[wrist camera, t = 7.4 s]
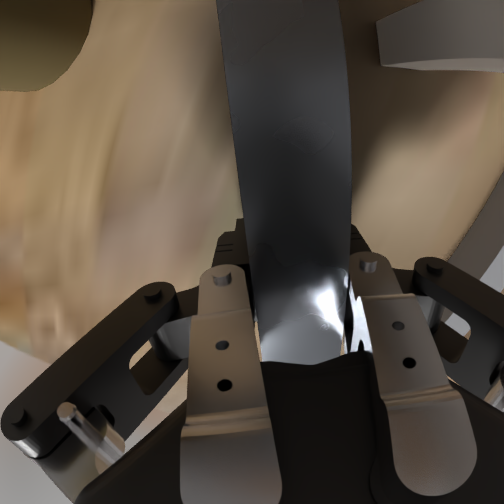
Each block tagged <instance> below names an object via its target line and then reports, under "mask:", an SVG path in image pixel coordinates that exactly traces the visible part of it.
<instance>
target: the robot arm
mask: <svg viewBox="0 0 504 504" xmlns="http://www.w3.org/2000/svg"><path fill="white" fill-rule="evenodd" d="M445 307H446V308H447V309H449V310H450V311H452V312H453V313H455V314H456V315H458V316H459V317H461V318H462V319H464V320H465V321H466V322H467V323H468V324H469V326H470V329H471V335H470V338H469V340H468V339H466V338H465V337H464V336H462V335H461V334H459V333H458V332H457V331H455V330H454V329H452V328H451V327H450V326H448V325H447V324H445V323H444V322H442V321H441V319H442V315H443V312H444V309H445ZM256 321H257V316H256V308H255V300H254V293H253V285H252V278H251V270H250V263H249V255H248V247H247V240H246V232H245V224H244V218H241V219H237V221H236V228H235V231H230V232H224V233H223V234H222V235H221V236H220V237H219V238H218V241H217V247H216V250H215V254H214V258H213V263H212V267H211V268H210V269H208V270H206V271H205V272H204V273H203V274H202V275H201V277H200V281H199V286H197V287H194V288H192V289H189V290H185V291H181V292H178V293H176V291H175V288H174V286H173V285H172V284H170V283H167V282H154V283H150V284H148V285H145V286H143V287H142V288H140V289H139V290H137V291H136V292H135V293H134V294H133V295H131V296H130V297H129V298H128V299H127V300H125V301H124V302H123V303H122V304H121V305H119V306H118V307H117V308H116V309H115V310H114V311H112V312H111V313H110V314H109V315H108V316H106V317H105V318H104V319H103V320H102V321H101V322H99V323H98V324H97V325H96V326H95V327H94V328H93V329H91V330H90V331H89V332H88V333H87V334H86V335H84V336H83V337H82V338H81V339H80V340H79V341H78V342H76V343H75V344H74V345H73V346H72V347H71V348H70V349H69V350H67V351H66V352H65V353H64V354H63V355H62V356H61V357H60V358H58V359H57V360H56V361H55V362H54V363H53V364H52V365H51V366H50V367H49V368H47V369H46V370H45V371H44V372H43V373H42V374H41V375H40V376H39V377H38V378H37V379H35V380H34V381H33V382H32V383H31V384H30V385H29V386H28V387H27V388H26V389H25V390H24V391H23V392H22V393H21V394H19V395H18V396H17V397H16V398H15V399H14V400H13V401H12V402H11V403H10V404H9V405H8V406H7V407H6V409H5V410H4V412H3V415H2V418H1V430H2V433H3V434H4V436H5V437H6V438H7V439H8V440H9V441H11V442H12V443H13V444H14V445H15V446H16V447H18V448H19V449H20V450H21V451H22V452H23V453H24V454H25V455H26V456H27V457H28V458H29V459H30V460H32V461H33V462H34V463H36V464H37V465H38V466H40V467H41V468H42V469H43V471H44V472H45V473H46V474H47V475H48V477H49V478H50V479H51V480H52V481H53V482H54V483H55V485H56V486H57V487H58V488H59V489H60V490H61V491H62V492H63V493H64V494H65V496H66V497H67V498H68V499H69V500H70V501H71V502H72V503H73V504H504V295H503V294H501V293H500V292H498V291H497V290H495V289H493V288H492V287H490V286H488V285H487V284H485V283H483V282H481V281H480V280H478V279H476V278H475V277H473V276H471V275H469V274H468V273H466V272H464V271H462V270H461V269H459V268H457V267H455V266H454V265H452V264H450V263H448V262H446V261H444V260H442V259H439V258H435V257H423V258H420V259H418V260H417V261H416V262H415V265H414V270H403V269H395V268H392V267H391V265H390V262H389V260H388V259H387V258H386V257H384V256H383V255H381V254H378V253H375V252H372V251H371V250H370V248H369V247H368V245H367V243H366V242H365V240H364V239H363V237H362V236H361V234H359V231H358V229H357V228H356V226H354V225H353V224H351V237H350V256H349V272H348V285H347V297H346V308H345V318H344V327H343V343H344V352H345V354H344V355H341V356H339V357H336V358H333V359H330V360H327V361H324V362H321V363H318V364H315V365H305V364H295V363H285V362H276V361H263V362H260V360H259V354H258V348H257V342H256V336H255V331H254V329H255V322H256ZM148 340H149V341H150V344H151V346H152V348H151V349H150V350H149V351H148V352H147V353H146V354H145V355H144V356H143V357H142V358H141V359H140V360H139V361H138V362H137V363H136V364H135V365H134V366H133V367H132V368H131V369H130V370H129V362H130V359H131V357H132V356H133V355H134V354H135V353H136V352H137V351H138V350H139V349H140V348H141V347H142V346H143V345H144V344H145V343H146V342H147V341H148ZM187 369H188V384H187V399H186V400H185V401H184V402H183V403H182V404H181V405H180V406H178V407H177V408H176V409H175V410H174V411H173V412H172V413H171V414H170V415H169V416H167V417H166V418H165V419H164V420H163V421H162V422H161V423H160V424H159V425H158V426H157V427H155V428H154V429H153V430H152V431H151V432H150V433H148V434H147V435H146V436H145V437H144V438H143V439H142V440H140V441H139V442H138V443H137V444H136V445H135V446H134V447H132V448H131V449H130V450H129V451H128V452H126V453H125V454H124V451H125V443H124V442H125V441H126V440H127V438H128V437H129V436H130V435H131V434H132V433H133V432H134V430H135V429H136V428H137V427H138V426H139V425H140V423H141V422H142V421H143V420H144V419H145V418H146V417H147V415H148V414H149V413H150V412H151V411H152V410H153V409H154V408H155V406H156V405H157V404H158V403H159V402H160V401H161V399H162V398H163V397H164V396H165V395H166V394H167V392H168V391H169V390H170V389H171V388H172V387H173V385H174V384H175V383H176V382H177V381H178V380H179V378H180V377H181V376H182V375H183V374H184V372H185V371H186V370H187ZM447 375H448V376H449V377H450V378H451V379H452V380H454V381H455V382H456V383H457V384H459V385H460V386H459V385H457V384H456V383H454V382H453V381H451V380H449V379H448V378H447Z"/></svg>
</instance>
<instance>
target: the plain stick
mask: <svg viewBox="0 0 504 504" xmlns="http://www.w3.org/2000/svg"><path fill="white" fill-rule="evenodd" d="M447 262H448V263H450V264H452V265H454V266H455V267H457V268H459V269H461V270H462V271H464V272H466V273H468V274H469V275H471V276H473V277H475V278H476V279H478V280H480V281H481V282H483V283H485V284H487V285H488V286H490V287H492V288H493V289H495V290H497V291H498V292H501V291H502V290H503V288H504V172H503V174H502V176H501V178H500V180H499V181H498V183H497V185H496V187H495V189H494V190H493V192H492V194H491V196H490V197H489V199H488V201H487V202H486V204H485V206H484V207H483V209H482V211H481V212H480V214H479V216H478V217H477V219H476V220H475V222H474V223H473V225H472V227H471V228H470V230H469V231H468V233H467V234H466V236H465V237H464V239H463V240H462V242H461V243H460V245H459V246H458V247H457V249H456V250H455V252H454V253H453V255H452V256H451V257H450V259H449V260H448V261H447ZM441 321H442V322H444V323H445V324H447V325H448V326H450V327H451V328H452V329H454V330H455V331H457V332H458V333H459V334H461V335H462V336H464V335H465V334H466V333H467V332H468V331H469V330H470V326H469V324H468V323H467V322H466V321H465V320H464V319H462V318H461V317H459V316H458V315H456V314H455V313H453V312H452V311H450V310H449V309H447V308H446V307H445V309H444V312H443V315H442V319H441Z"/></svg>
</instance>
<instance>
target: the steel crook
mask: <svg viewBox="0 0 504 504" xmlns="http://www.w3.org/2000/svg"><path fill="white" fill-rule="evenodd" d="M216 3H217V11H218V19H219V27H220V35H221V44H222V52H223V60H224V68H225V76H226V84H227V92H228V100H229V107H230V115H231V123H232V131H233V139H234V147H235V155H236V162H237V170H238V178H239V186H240V194H241V201H242V209H243V217H244V224H245V232H246V240H247V247H248V255H249V263H250V270H251V278H252V285H253V293H254V300H255V308H256V316H257V323H258V331H259V338H260V346H261V353H262V360H263V361H276V362H285V363H295V364H305V365H315V364H318V363H321V362H324V361H327V360H330V359H333V358H336V357H339V356H340V352H341V344H342V336H343V327H344V318H345V308H346V297H347V285H348V272H349V256H350V237H351V205H352V154H351V123H350V104H349V89H348V77H347V65H346V56H345V46H344V38H343V30H342V23H341V16H340V9H339V2H338V0H216Z"/></svg>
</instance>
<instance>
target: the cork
mask: <svg viewBox="0 0 504 504" xmlns="http://www.w3.org/2000/svg"><path fill="white" fill-rule="evenodd" d="M91 18H92V6H91V0H0V91H19V92H28V91H37V90H40V89H42V88H44V87H46V86H48V85H50V84H52V83H54V82H55V81H56V80H57V79H58V78H59V77H60V76H61V75H62V74H63V73H65V72H66V71H67V70H68V68H69V67H70V65H71V64H72V63H73V61H74V60H75V58H76V57H77V56H78V54H79V53H80V51H81V48H82V46H83V44H84V42H85V40H86V37H87V35H88V32H89V27H90V22H91Z"/></svg>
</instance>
